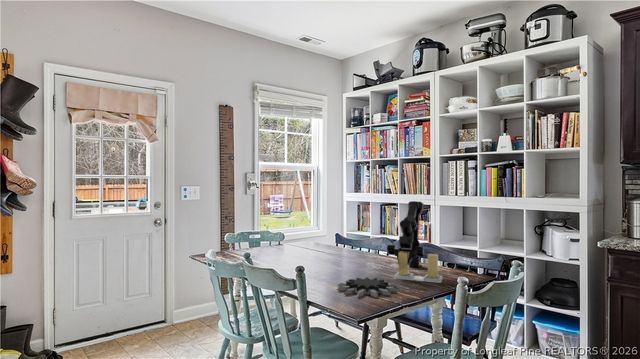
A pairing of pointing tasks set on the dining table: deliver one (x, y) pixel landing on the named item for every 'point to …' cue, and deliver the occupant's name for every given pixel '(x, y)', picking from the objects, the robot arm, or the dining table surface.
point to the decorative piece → (367, 287)
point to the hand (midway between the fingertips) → (403, 264)
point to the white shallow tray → (418, 278)
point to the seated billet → (433, 266)
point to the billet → (403, 263)
